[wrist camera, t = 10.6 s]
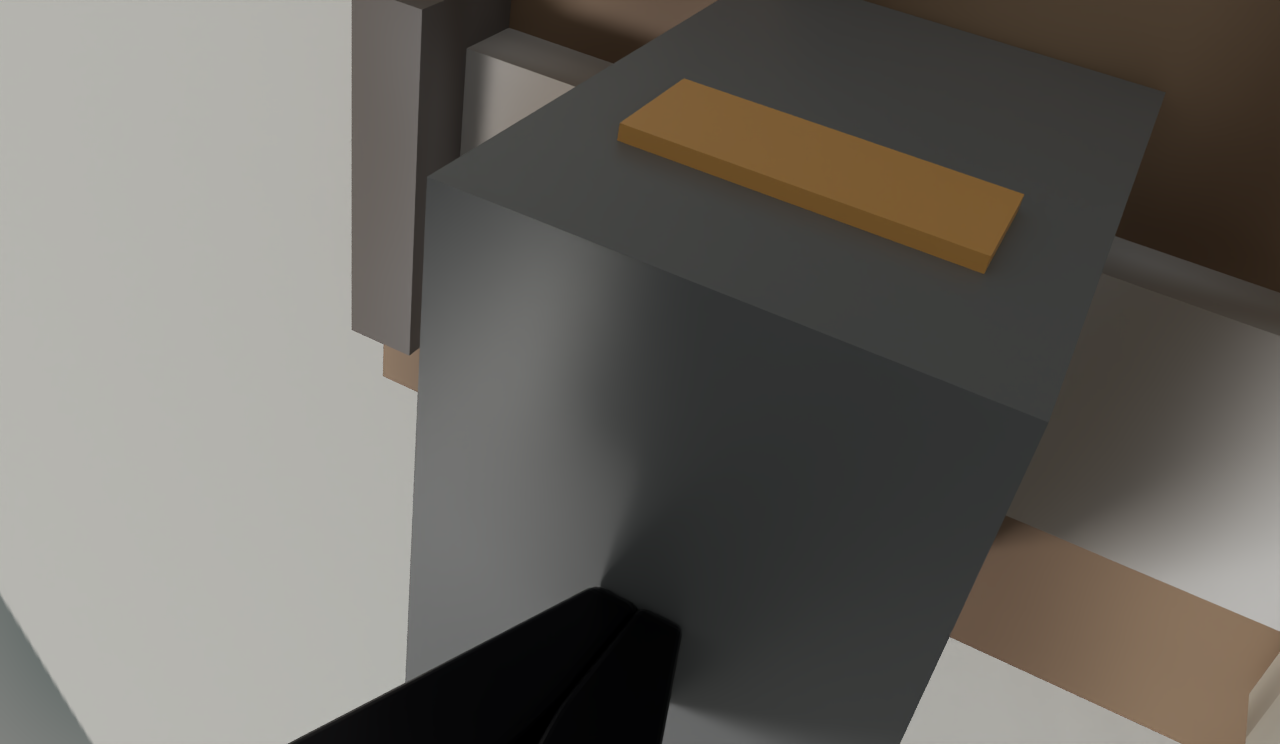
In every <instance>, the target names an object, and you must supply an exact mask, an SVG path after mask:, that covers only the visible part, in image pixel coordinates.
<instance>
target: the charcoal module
mask: <svg viewBox="0 0 1280 744" xmlns="http://www.w3.org/2000/svg"><path fill="white" fill-rule="evenodd" d="M1165 93H1166V92H1163V91H1159V90H1156V89H1153V88H1149V87H1146V86H1143V85H1140V84H1136V83H1133V82H1130V81H1126V80H1123V79H1120V78H1117V77H1113V76H1110V75H1107V74H1103V73H1100V72H1097V71H1094V70H1090V69H1087V68H1084V67H1080V66H1077V65H1074V64H1071V63H1067V62H1064V61H1061V60H1057V59H1054V58H1051V57H1048V56H1044V55H1041V54H1038V53H1034V52H1031V51H1028V50H1025V49H1021V48H1018V47H1015V46H1011V45H1008V44H1005V43H1002V42H998V41H995V40H992V39H988V38H985V37H982V36H979V35H975V34H972V33H969V32H966V31H962V30H959V29H956V28H952V27H949V26H946V25H943V24H939V23H936V22H933V21H929V20H926V19H923V18H920V17H916V16H913V15H910V14H906V13H903V12H900V11H897V10H893V9H890V8H887V7H883V6H880V5H877V4H874V3H870V2H867V1H864V0H718V1H716V2H714V3H713V4H711V5H709V6H708V7H706V8H704V9H703V10H701V11H699V12H698V13H696V14H694V15H693V16H691V17H690V18H688V19H686V20H685V21H683V22H681V23H680V24H678V25H676V26H675V27H673V28H671V29H670V30H668V31H666V32H665V33H663V34H661V35H660V36H658V37H657V38H655V39H653V40H652V41H650V42H648V43H647V44H645V45H643V46H642V47H640V48H638V49H637V50H635V51H633V52H632V53H630V54H629V55H627V56H625V57H624V58H622V59H620V60H619V61H617V62H615V63H614V64H612V65H610V66H609V67H607V68H605V69H604V70H602V71H601V72H599V73H597V74H596V75H594V76H592V77H591V78H589V79H587V80H586V81H584V82H582V83H581V84H579V85H577V86H576V87H574V88H572V89H571V90H569V91H568V92H566V93H564V94H563V95H561V96H559V97H558V98H556V99H554V100H553V101H551V102H549V103H548V104H546V105H544V106H543V107H541V108H540V109H538V110H536V111H535V112H533V113H531V114H530V115H528V116H526V117H525V118H523V119H521V120H520V121H518V122H516V123H515V124H513V125H511V126H510V127H508V128H507V129H505V130H503V131H502V132H500V133H498V134H497V135H495V136H493V137H492V138H490V139H488V140H487V141H485V142H483V143H482V144H480V145H479V146H477V147H475V148H474V149H472V150H470V151H469V152H467V153H465V154H464V155H462V156H460V157H459V158H457V159H455V160H454V161H452V162H451V163H449V164H447V165H446V166H444V167H442V168H441V169H439V170H437V171H436V172H434V173H432V174H431V175H429V176H427V189H426V213H425V236H424V260H423V283H422V306H421V330H420V353H419V377H418V400H417V423H416V447H415V470H414V494H413V517H412V540H411V564H410V587H409V611H408V634H407V658H406V681H405V683H406V682H408V681H410V680H412V679H414V678H416V677H417V676H419V675H421V674H423V673H425V672H427V671H429V670H431V669H433V668H435V667H437V666H439V665H441V664H443V663H444V662H446V661H448V660H450V659H452V658H454V657H456V656H458V655H460V654H462V653H464V652H466V651H468V650H470V649H471V648H473V647H475V646H477V645H479V644H481V643H483V642H485V641H487V640H489V639H491V638H493V637H495V636H497V635H498V634H500V633H502V632H504V631H506V630H508V629H510V628H512V627H514V626H516V625H518V624H520V623H522V622H524V621H525V620H527V619H529V618H531V617H533V616H535V615H537V614H539V613H541V612H543V611H545V610H547V609H549V608H551V607H552V606H554V605H556V604H558V603H560V602H562V601H564V600H566V599H568V598H570V597H572V596H574V595H576V594H578V593H579V592H581V591H583V590H585V589H587V588H590V587H601V588H604V589H606V590H608V591H610V592H612V593H614V594H616V595H618V596H620V597H623V598H625V599H627V600H629V601H631V602H632V603H633V604H634V605H635V606H636V608H637V611H638V610H640V609H646V610H649V611H651V612H653V613H655V614H657V615H659V616H661V617H663V618H665V619H668V620H670V621H672V622H674V623H676V624H677V625H679V626H680V628H681V630H682V638H681V644H680V650H679V655H678V661H677V666H676V671H675V677H674V682H673V688H672V693H671V699H670V704H669V710H668V715H667V721H666V726H665V731H664V737H663V742H662V744H900V742H901V740H902V738H903V736H904V734H905V731H906V729H907V727H908V725H909V723H910V721H911V718H912V716H913V714H914V712H915V710H916V708H917V706H918V703H919V701H920V699H921V697H922V695H923V693H924V690H925V688H926V686H927V684H928V682H929V680H930V678H931V675H932V673H933V671H934V669H935V667H936V665H937V662H938V660H939V658H940V656H941V654H942V652H943V649H944V647H945V645H946V643H947V641H948V639H949V637H950V634H951V632H952V630H953V628H954V626H955V624H956V621H957V619H958V617H959V615H960V613H961V611H962V608H963V606H964V604H965V602H966V600H967V598H968V596H969V593H970V591H971V589H972V587H973V585H974V583H975V580H976V578H977V576H978V574H979V572H980V570H981V567H982V565H983V563H984V561H985V559H986V557H987V555H988V552H989V550H990V548H991V546H992V544H993V542H994V539H995V537H996V535H997V533H998V531H999V529H1000V527H1001V524H1002V522H1003V520H1004V518H1005V516H1006V514H1007V511H1008V509H1009V507H1010V505H1011V503H1012V501H1013V498H1014V496H1015V494H1016V492H1017V490H1018V488H1019V486H1020V483H1021V481H1022V479H1023V477H1024V475H1025V473H1026V470H1027V468H1028V466H1029V464H1030V462H1031V460H1032V457H1033V455H1034V453H1035V451H1036V449H1037V447H1038V445H1039V442H1040V440H1041V438H1042V436H1043V434H1044V432H1045V429H1046V427H1047V425H1048V423H1049V420H1050V417H1051V415H1052V412H1053V409H1054V406H1055V403H1056V401H1057V398H1058V395H1059V392H1060V389H1061V386H1062V384H1063V381H1064V378H1065V375H1066V372H1067V370H1068V367H1069V364H1070V361H1071V358H1072V355H1073V353H1074V350H1075V347H1076V344H1077V341H1078V339H1079V336H1080V333H1081V330H1082V327H1083V324H1084V322H1085V319H1086V316H1087V313H1088V310H1089V308H1090V305H1091V302H1092V299H1093V296H1094V293H1095V291H1096V288H1097V285H1098V282H1099V279H1100V277H1101V274H1102V271H1103V268H1104V265H1105V262H1106V260H1107V257H1108V254H1109V251H1110V248H1111V246H1112V243H1113V240H1114V237H1115V234H1116V231H1117V229H1118V226H1119V223H1120V220H1121V217H1122V215H1123V212H1124V209H1125V206H1126V203H1127V200H1128V198H1129V195H1130V192H1131V189H1132V186H1133V183H1134V181H1135V178H1136V175H1137V172H1138V169H1139V167H1140V164H1141V161H1142V158H1143V155H1144V152H1145V150H1146V147H1147V144H1148V141H1149V138H1150V136H1151V133H1152V130H1153V127H1154V124H1155V121H1156V119H1157V116H1158V113H1159V110H1160V107H1161V105H1162V102H1163V99H1164V96H1165Z"/></svg>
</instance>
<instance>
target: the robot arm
mask: <svg viewBox="0 0 1280 744" xmlns="http://www.w3.org/2000/svg"><path fill="white" fill-rule="evenodd" d="M681 638H682V630H681V628H680V626H679V625H677V624H676V623H674V622H672V621H670V620H668V619H665V618H663V617H661V616H659V615H657V614H655V613H653V612H651V611H649V610H646V609H640V610H638V611H637V608H636V606H635V605H634V604H633V603H632V602H631V601H629V600H627V599H625V598H623V597H620V596H618V595H616V594H614V593H612V592H610V591H608V590H606V589H604V588H601V587H590V588H587V589H585V590H583V591H581V592H579V593H578V594H576V595H574V596H572V597H570V598H568V599H566V600H564V601H562V602H560V603H558V604H556V605H554V606H552V607H551V608H549V609H547V610H545V611H543V612H541V613H539V614H537V615H535V616H533V617H531V618H529V619H527V620H525V621H524V622H522V623H520V624H518V625H516V626H514V627H512V628H510V629H508V630H506V631H504V632H502V633H500V634H498V635H497V636H495V637H493V638H491V639H489V640H487V641H485V642H483V643H481V644H479V645H477V646H475V647H473V648H471V649H470V650H468V651H466V652H464V653H462V654H460V655H458V656H456V657H454V658H452V659H450V660H448V661H446V662H444V663H443V664H441V665H439V666H437V667H435V668H433V669H431V670H429V671H427V672H425V673H423V674H421V675H419V676H417V677H416V678H414V679H412V680H410V681H408V682H406V683H404V684H402V685H400V686H398V687H396V688H394V689H392V690H390V691H389V692H387V693H385V694H383V695H381V696H379V697H377V698H375V699H373V700H371V701H369V702H367V703H365V704H363V705H362V706H360V707H358V708H356V709H354V710H352V711H350V712H348V713H346V714H344V715H342V716H340V717H338V718H336V719H335V720H333V721H331V722H329V723H327V724H325V725H323V726H321V727H319V728H317V729H315V730H313V731H311V732H309V733H308V734H306V735H304V736H302V737H300V738H298V739H296V740H294V741H292V742H290V743H288V744H662V742H663V737H664V731H665V726H666V721H667V715H668V710H669V704H670V699H671V693H672V688H673V682H674V677H675V671H676V666H677V661H678V655H679V650H680V644H681Z"/></svg>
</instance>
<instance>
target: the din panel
mask: <svg viewBox="0 0 1280 744" xmlns="http://www.w3.org/2000/svg"><path fill="white" fill-rule="evenodd" d="M716 1H718V0H352V330H353V331H356V332H358V333H360V334H362V335H364V336H367V337H369V338H371V339H373V340H376V341H378V342H380V343H382V344H384V354H383V376H384V377H386V378H388V379H390V380H393V381H395V382H397V383H399V384H401V385H404V386H406V387H408V388H410V389H412V390H414V391H417V392H418V377H419V353H420V330H421V306H422V283H423V260H424V236H425V213H426V189H427V176H429V175H431V174H432V173H434V172H436V171H437V170H439V169H441V168H442V167H444V166H446V165H447V164H449V163H451V162H452V161H454V160H455V159H457V158H459V157H460V156H462V155H464V154H465V153H467V152H469V151H470V150H472V149H474V148H475V147H477V146H479V145H480V144H482V143H483V142H485V141H487V140H488V139H490V138H492V137H493V136H495V135H497V134H498V133H500V132H502V131H503V130H505V129H507V128H508V127H510V126H511V125H513V124H515V123H516V122H518V121H520V120H521V119H523V118H525V117H526V116H528V115H530V114H531V113H533V112H535V111H536V110H538V109H540V108H541V107H543V106H544V105H546V104H548V103H549V102H551V101H553V100H554V99H556V98H558V97H559V96H561V95H563V94H564V93H566V92H568V91H569V90H571V89H572V88H574V87H576V86H577V85H579V84H581V83H582V82H584V81H586V80H587V79H589V78H591V77H592V76H594V75H596V74H597V73H599V72H601V71H602V70H604V69H605V68H607V67H609V66H610V65H612V64H614V63H615V62H617V61H619V60H620V59H622V58H624V57H625V56H627V55H629V54H630V53H632V52H633V51H635V50H637V49H638V48H640V47H642V46H643V45H645V44H647V43H648V42H650V41H652V40H653V39H655V38H657V37H658V36H660V35H661V34H663V33H665V32H666V31H668V30H670V29H671V28H673V27H675V26H676V25H678V24H680V23H681V22H683V21H685V20H686V19H688V18H690V17H691V16H693V15H694V14H696V13H698V12H699V11H701V10H703V9H704V8H706V7H708V6H709V5H711V4H713V3H714V2H716ZM864 1H867V2H870V3H874V4H877V5H880V6H883V7H887V8H890V9H893V10H897V11H900V12H903V13H906V14H910V15H913V16H916V17H920V18H923V19H926V20H929V21H933V22H936V23H939V24H943V25H946V26H949V27H952V28H956V29H959V30H962V31H966V32H969V33H972V34H975V35H979V36H982V37H985V38H988V39H992V40H995V41H998V42H1002V43H1005V44H1008V45H1011V46H1015V47H1018V48H1021V49H1025V50H1028V51H1031V52H1034V53H1038V54H1041V55H1044V56H1048V57H1051V58H1054V59H1057V60H1061V61H1064V62H1067V63H1071V64H1074V65H1077V66H1080V67H1084V68H1087V69H1090V70H1094V71H1097V72H1100V73H1103V74H1107V75H1110V76H1113V77H1117V78H1120V79H1123V80H1126V81H1130V82H1133V83H1136V84H1140V85H1143V86H1146V87H1149V88H1153V89H1156V90H1159V91H1163V92H1166V93H1165V96H1164V99H1163V102H1162V105H1161V107H1160V110H1159V113H1158V116H1157V119H1156V121H1155V124H1154V127H1153V130H1152V133H1151V136H1150V138H1149V141H1148V144H1147V147H1146V150H1145V152H1144V155H1143V158H1142V161H1141V164H1140V167H1139V169H1138V172H1137V175H1136V178H1135V181H1134V183H1133V186H1132V189H1131V192H1130V195H1129V198H1128V200H1127V203H1126V206H1125V209H1124V212H1123V215H1122V217H1121V220H1120V223H1119V226H1118V229H1117V231H1116V234H1115V237H1114V240H1113V243H1112V246H1111V248H1110V251H1109V254H1108V257H1107V260H1106V262H1105V265H1104V268H1103V271H1102V274H1101V277H1100V279H1099V282H1098V285H1097V288H1096V291H1095V293H1094V296H1093V299H1092V302H1091V305H1090V308H1089V310H1088V313H1087V316H1086V319H1085V322H1084V324H1083V327H1082V330H1081V333H1080V336H1079V339H1078V341H1077V344H1076V347H1075V350H1074V353H1073V355H1072V358H1071V361H1070V364H1069V367H1068V370H1067V372H1066V375H1065V378H1064V381H1063V384H1062V386H1061V389H1060V392H1059V395H1058V398H1057V401H1056V403H1055V406H1054V409H1053V412H1052V415H1051V417H1050V420H1049V423H1048V425H1047V427H1046V429H1045V432H1044V434H1043V436H1042V438H1041V440H1040V442H1039V445H1038V447H1037V449H1036V451H1035V453H1034V455H1033V457H1032V460H1031V462H1030V464H1029V466H1028V468H1027V470H1026V473H1025V475H1024V477H1023V479H1022V481H1021V483H1020V486H1019V488H1018V490H1017V492H1016V494H1015V496H1014V498H1013V501H1012V503H1011V505H1010V507H1009V509H1008V511H1007V514H1006V516H1005V518H1004V520H1003V522H1002V524H1001V527H1000V529H999V531H998V533H997V535H996V537H995V539H994V542H993V544H992V546H991V548H990V550H989V552H988V555H987V557H986V559H985V561H984V563H983V565H982V567H981V570H980V572H979V574H978V576H977V578H976V580H975V583H974V585H973V587H972V589H971V591H970V593H969V596H968V598H967V600H966V602H965V604H964V606H963V608H962V611H961V613H960V615H959V617H958V619H957V621H956V624H955V626H954V628H953V630H952V632H951V634H950V637H951V638H953V639H956V640H958V641H960V642H962V643H964V644H966V645H969V646H971V647H973V648H975V649H977V650H979V651H982V652H984V653H986V654H988V655H990V656H992V657H995V658H997V659H999V660H1001V661H1003V662H1006V663H1008V664H1010V665H1012V666H1014V667H1016V668H1019V669H1021V670H1023V671H1025V672H1027V673H1029V674H1032V675H1034V676H1036V677H1038V678H1040V679H1042V680H1045V681H1047V682H1049V683H1051V684H1053V685H1056V686H1058V687H1060V688H1062V689H1064V690H1066V691H1069V692H1071V693H1073V694H1075V695H1077V696H1079V697H1082V698H1084V699H1086V700H1088V701H1090V702H1092V703H1095V704H1097V705H1099V706H1101V707H1103V708H1105V709H1108V710H1110V711H1112V712H1114V713H1116V714H1119V715H1121V716H1123V717H1125V718H1127V719H1129V720H1132V721H1134V722H1136V723H1138V724H1140V725H1142V726H1145V727H1147V728H1149V729H1151V730H1153V731H1155V732H1158V733H1160V734H1162V735H1164V736H1166V737H1169V738H1171V739H1173V740H1175V741H1177V742H1179V743H1182V744H1280V0H864Z"/></svg>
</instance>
